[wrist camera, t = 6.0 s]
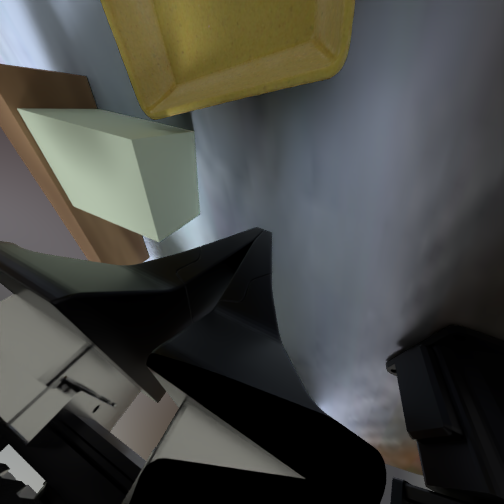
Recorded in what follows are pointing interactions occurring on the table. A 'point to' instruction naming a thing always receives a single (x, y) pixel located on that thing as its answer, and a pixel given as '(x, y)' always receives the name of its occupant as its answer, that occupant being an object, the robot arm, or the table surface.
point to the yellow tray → (226, 48)
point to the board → (9, 119)
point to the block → (121, 167)
